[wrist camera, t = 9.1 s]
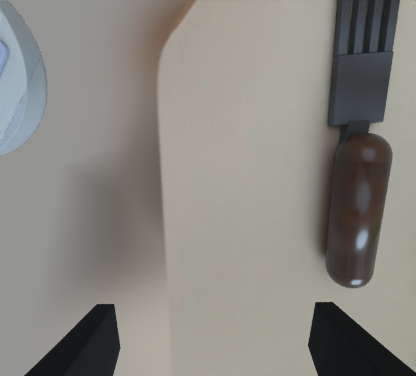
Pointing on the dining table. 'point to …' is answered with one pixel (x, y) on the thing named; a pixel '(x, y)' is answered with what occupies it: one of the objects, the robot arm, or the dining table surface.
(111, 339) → the robot arm
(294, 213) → the dining table surface
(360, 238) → the fork
